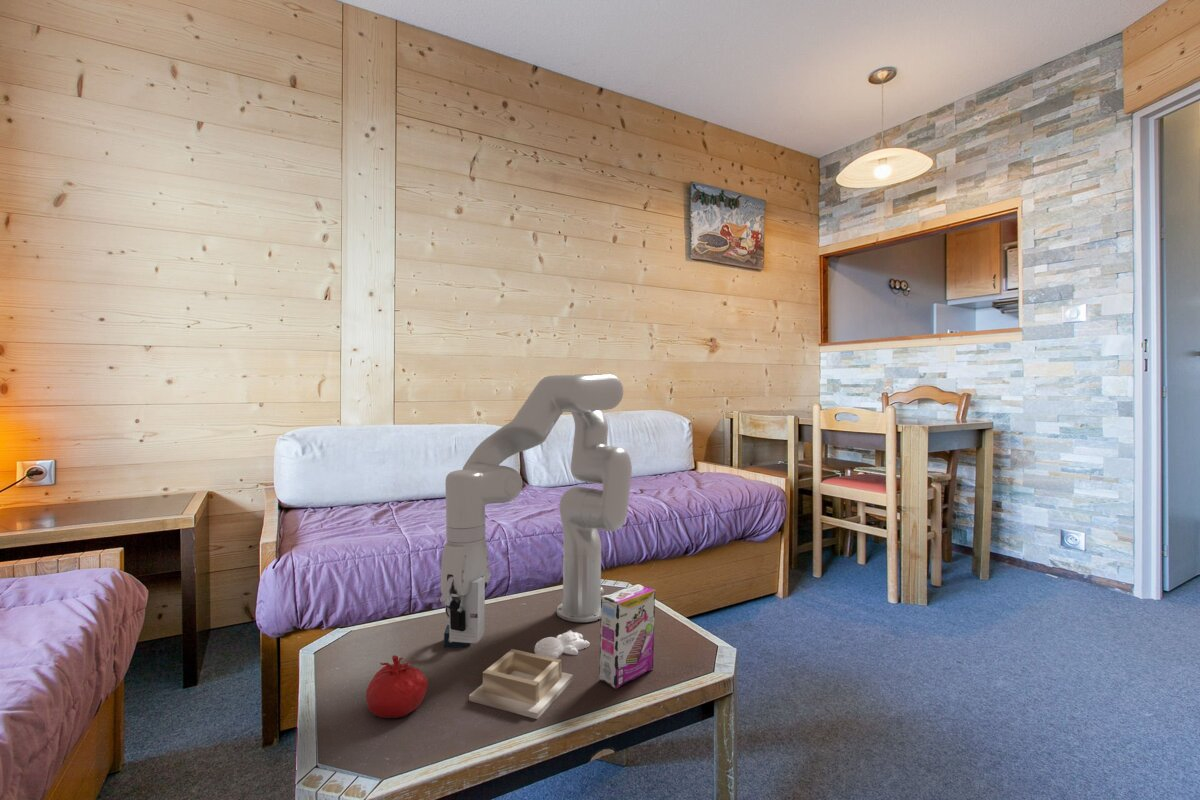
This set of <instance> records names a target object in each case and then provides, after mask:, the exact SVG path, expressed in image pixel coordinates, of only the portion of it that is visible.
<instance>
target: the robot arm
mask: <svg viewBox="0 0 1200 800" xmlns="http://www.w3.org/2000/svg"><path fill="white" fill-rule="evenodd" d="M623 396H624V387H623V383H622V381H621V380H620V379H619V378H618V377H617V376H616V375H614V374H610V373H609V374H608V373H600V374H597V373H596V374H594V373H591V374H589V373H588V374H587V373H585V374H584V373H583V374H582V373H581V374H580V373H579V374H573V375H572V374H569V375H568V374H567V375H566V374H565V375H562V374H557V375H554V374H553V375H548V376H544V377H543V378H541V380H539V381H538V383H537V384H536V385H535V387H534V388H533V390H532V391H531V393H530V394H529V396H528V397H527V399H526V400H525V401H524V402H523V405H522V406H521V407H520V408H519V410H518V412H517V414H516V415H515V416H514V418H513V419H512V420H510V421H509V422H508V423H506V424H504V426H503V425H502V426H501V427H500V428H499V429H497V430H496V431H495V432H493V433H492V434H491V435H489V436H488V437H486V438H485V439H483V441H482V442H480V443H479V445H477V447H476V448H475V449H474V450H473V452H472V453H471V454H470V456H469V457H468V459H467V460H466V462H465V464H463V468H462V469H459V470H458V469H457V470H453V471H451V472H449V473H448V474H447V475H446V477H445V483H444V484H445V520H446V521H445V534H446V536H445V538H446V543H444V545H443V551H442V557H441V565H440V566H441V567H440V592H441V596H440V598H439V602H441V604H443V605H445V607H446V606H447V607H448V610H450V627H451V629H452V630H457V631H462V632H463V631H465V630H466V614H465V610H463V607H464V600H465V595H466V594H468V593H469V592H471V587H472V582H473V581H475V580H477V579H479V578H480V577H482V576H485V590H486V588H487V586H488V582H489V580H490V578H491V572H490V569H489V568H490V567H489V565H490V564H489V563H490V562H489V553H488V550H489V549H488V543H487V539H486V505H488V504H489V505H490V504H491V505H492V504H505V503H509V502H511V501H514V499H516V498H517V497H518V496H519V495H520V494H521V491H522V490H523V479H522V476H521V474H520V472H519V471H517V470H516V469H515V468H512V467H510V466H506V465H501V464H502V463H503V462H504V461H505V460H507V459H509V458H510V457H512V456H514V455H516V454H518V453H522V452H525V451H527V450H531V449H533V448H535V447H537V446H539V445H541V444H543V443H544V442H545V441H546V439H547V438H548V436H549V435H550V433H551V431H552V429H553V428H554V427H555V425H556V424H557V422H558V420H559V419H560V417H561V415H563V413H571V415H572V418H573V420H574V421H573V422H574V435H573V436H574V437H573V445H572V453H571V461H570V471H571V472H570V473H571V475H572V476H573V478H574V479H575V480H578V481H580V482H584V483H591V484H598V485H602V489H598V488H594V487H593V488H592V487H584V486H574V487H570V488H569V489H567V490H566V491H564V492H563V494H562V495H561V497H560V500H559V514H560V518H561V525H562V535H563V537H562V539H563V546H562V548H563V549H562V550H563V552H562V553H563V556H562V557H563V559H562V561H563V562H562V602H561V603H560V604H558V605H557V607H556V615H557V616H558V617H559V618H561V619H562V620H564V621H568V622H571V623H591V622H595V621H599V620H601V596H602V594H603V593H605V589H604V588H603V587H602V585H601V584H602V583H601V582H602V579H601V578H602V541H601V536H600V534H599V532H598V530H599V531H605V532H616V531H618V530H619V529H621V528H622V527H623V525H624V523H625V521H626V520H627V519H626V518H627V515H628V510H629V509H628V508H629V501H630V499H629V498H630V492H631V483H632V470H633V468H632V465H633V464H632V461H631V458H630V455H629V453H628V452H627V451H626V450H625V449H623V448H621V447H620V446H611V445H610V446H609V445H608V436H609V425H608V420H607V419H606V416H605V414H604V412H603V411H607V410H613V409H615V408H616V407H618V405H619V404H620V403H621V401H622V399H623ZM456 591H457V593H456ZM455 597H458V598H459V601H458V603H457V602H456V601H455ZM598 619H599V620H598Z"/></svg>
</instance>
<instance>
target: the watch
mask: <svg viewBox="0 0 1200 800" xmlns="http://www.w3.org/2000/svg"><path fill="white" fill-rule="evenodd" d="M444 613H445V615H446V617H447V620H448V622H449V610H448V607H447V606H446V605H445V611H444ZM443 640H444V641H443V647H444V649H445V648H462V647H463V648H465V647H467V646H468V647H471V644H472V643H464V642H453V641H450V640H449V624H447V625H446V626H445V630H444V634H443Z"/></svg>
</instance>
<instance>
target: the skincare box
mask: <svg viewBox="0 0 1200 800" xmlns="http://www.w3.org/2000/svg"><path fill="white" fill-rule="evenodd" d="M485 591H486V589H485V576H482V577H480V578H479V579H477V580H475V581H473V582H472V587H471V592H469V593H468V594H466V595H465V600H464V607H463V610H465V614H466V630H465V631H463V632H462V631H457V630H452V629H451V627H450V610H449V621H448V623H449V624H448V625H449V640H450V641H453V642H464V643H471V644H477V643H479V642H480V640H481V639H482V638H483V636H484V635H485V611H486V610H485V607H486V606H485V602H486V601H485V600H486V599H485V597H486V592H485ZM456 593H457V591H456ZM455 601H456V602H457V603H458V601H459V598H458V597H455Z"/></svg>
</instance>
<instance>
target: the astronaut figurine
mask: <svg viewBox="0 0 1200 800" xmlns="http://www.w3.org/2000/svg"><path fill="white" fill-rule="evenodd" d="M583 638H584V635H583V634H581V633H579V632H573V630H567V632H563V633H562V634H558V635H556V637H554V636H548V637H544V638H541V639H540V640H539V641H537V642H536V644H535V646H534V649H533V651H534V654H537V655H542V656H546V657H551V658H556V659H559V657H560V656H561V655H562V654H566V655H570V656H578V654H579V651H580V650H584V648H585V649H588V648H589V647H590V645H591V644H590V642H589V641H588V640H587V639H586V640H585V639H583ZM587 647H588V648H587Z"/></svg>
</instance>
